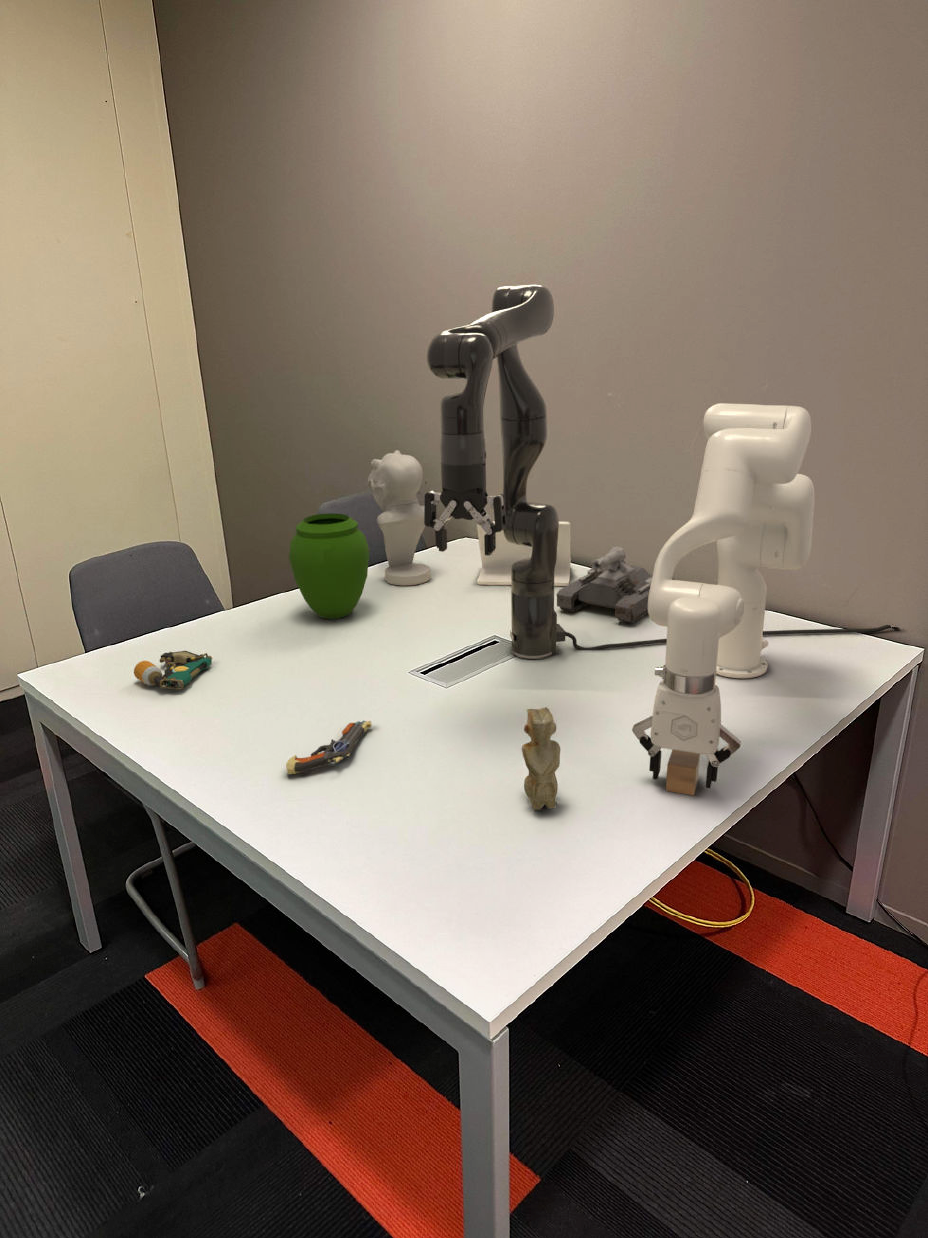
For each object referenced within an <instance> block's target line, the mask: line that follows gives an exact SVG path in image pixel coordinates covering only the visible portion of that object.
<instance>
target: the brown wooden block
mask: <svg viewBox="0 0 928 1238" xmlns="http://www.w3.org/2000/svg"><path fill="white" fill-rule="evenodd" d="M700 760H701V754H697V753H691V752H684V751H678V750H672V749H671V752H670V756H669V759H668V762H667V767H666V781H665V792H666V791H667V792H672V793H678V794H683V795H688V796H695V793H696V790H697V785H698V781H699V776H700V775H699V774H700V762H701V761H700Z"/></svg>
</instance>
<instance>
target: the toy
mask: <svg viewBox="0 0 928 1238" xmlns="http://www.w3.org/2000/svg"><path fill="white" fill-rule="evenodd" d="M626 557H627V556H626V551H625V549H624V548H622V547H621V546H614V547H612V548H611V549H610V550H609V552H608V553H607V554H605V555H604V556H601V557H599V558H598V559H597V557H596V558H594V559H593V560H592V561H590V562H589V563H590V564H591V565H592V567H591V568H590V569H589V570H587V573H586V575H584V576H582V577H580V578H578V579H577V580H575V581H573V582H570V583H569V585H567V586H563V587H562V588H560V589H559V590H558V591H557V592H556V607H558V608H559V609H560V610H562V611H566V612H572V613H575V612H577V611H579V610H581V609H582V608H585V607H586V606H588V605H592V606H598V607H602V608H603V607H604V608H609V609H613V610H614V618H615V619H617V620H618V621H621V622H626V623H631V624H634V623H635V622H637V621H638V620H640V619H641V618H642V617H644V616H645V615H647V614H648V597H649V591H650V586H651V581H652V576H651V574H650V573H649V572H648V571H647V570H646V568H644V567H641V566H635V565H629V564H628V563H627V562H626V561H625V559H626ZM672 580H676V579H675V578H673V577H672Z"/></svg>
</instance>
